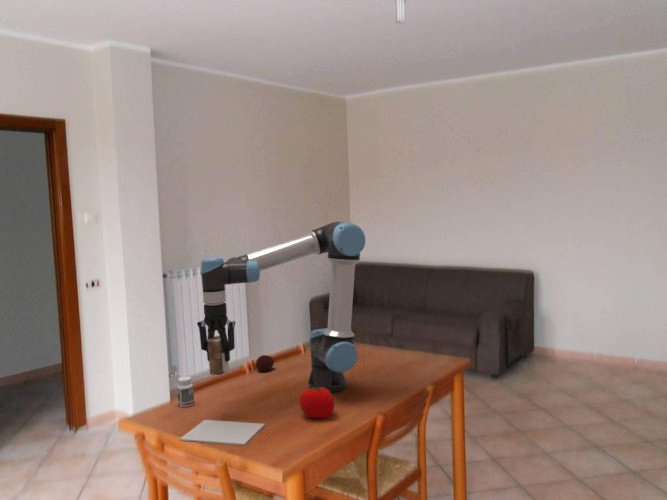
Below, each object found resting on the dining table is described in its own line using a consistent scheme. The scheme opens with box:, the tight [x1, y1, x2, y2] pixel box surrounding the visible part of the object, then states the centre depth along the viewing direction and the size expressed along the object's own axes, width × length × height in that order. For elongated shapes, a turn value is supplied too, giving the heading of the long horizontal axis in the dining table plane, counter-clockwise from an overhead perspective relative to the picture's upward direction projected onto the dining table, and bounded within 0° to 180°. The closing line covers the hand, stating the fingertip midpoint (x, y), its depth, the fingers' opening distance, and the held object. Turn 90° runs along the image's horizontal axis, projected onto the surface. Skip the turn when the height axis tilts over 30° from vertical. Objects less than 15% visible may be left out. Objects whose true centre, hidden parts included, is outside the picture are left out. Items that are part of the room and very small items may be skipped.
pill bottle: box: [176, 376, 195, 408], centre depth 216 cm, size 6×6×10 cm
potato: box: [255, 354, 275, 372], centre depth 256 cm, size 7×8×7 cm
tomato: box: [299, 387, 335, 419], centre depth 199 cm, size 11×13×10 cm
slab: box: [207, 335, 230, 376], centre depth 201 cm, size 4×6×12 cm, turn 164°
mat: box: [179, 419, 266, 447], centre depth 188 cm, size 22×16×1 cm
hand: (219, 370), depth 201 cm, fingers closed on slab, 4 cm apart
